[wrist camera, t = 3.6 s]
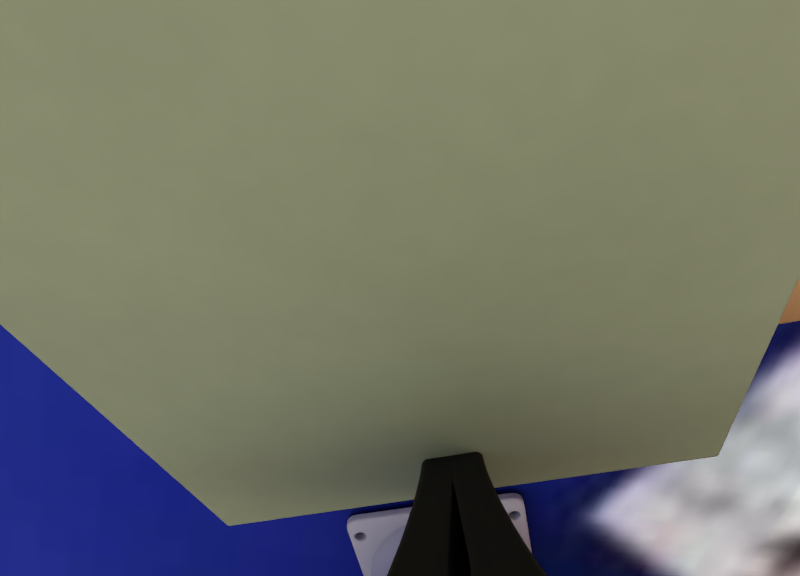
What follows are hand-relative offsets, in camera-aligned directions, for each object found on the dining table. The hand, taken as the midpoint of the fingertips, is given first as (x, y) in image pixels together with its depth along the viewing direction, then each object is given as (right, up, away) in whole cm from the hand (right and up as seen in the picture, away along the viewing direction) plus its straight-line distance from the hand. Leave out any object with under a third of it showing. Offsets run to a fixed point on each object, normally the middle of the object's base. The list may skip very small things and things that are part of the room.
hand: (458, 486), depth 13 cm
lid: (-1, +5, -3) cm, 6 cm away
